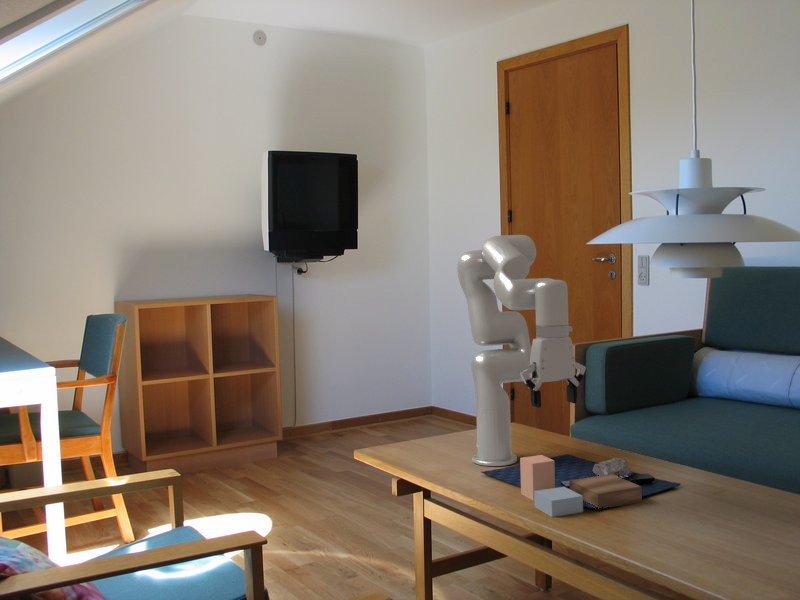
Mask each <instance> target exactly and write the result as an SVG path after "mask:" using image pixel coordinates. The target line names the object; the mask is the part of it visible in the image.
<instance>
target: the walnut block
mask: <svg viewBox="0 0 800 600" xmlns="http://www.w3.org/2000/svg"><path fill="white" fill-rule="evenodd" d="M568 482H569V488H568V489H570V490H572V491H574V492H576V493H578V494H580V495H582V496H583V500H584V501H586V502H588V503H590V504H593V505H595V506H596V507H598V509H597V510H600V509H599V508H602V507H603V509H608V508H607V507H609V508H615V507H620V506H626V505H630V504H637V503H642V502H643V495H642V494H643V489H642V486H641V485H639V484H636V483H633V482H631V481H630V480H628V479H627V480H626V478H625V479H622V478H620V477H618V476H615V475H613V474H607V475H601V476H598V475H595V476H594V475H593V476H590V477H589V476H587V477H582V478H576V479H569V481H568Z"/></svg>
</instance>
